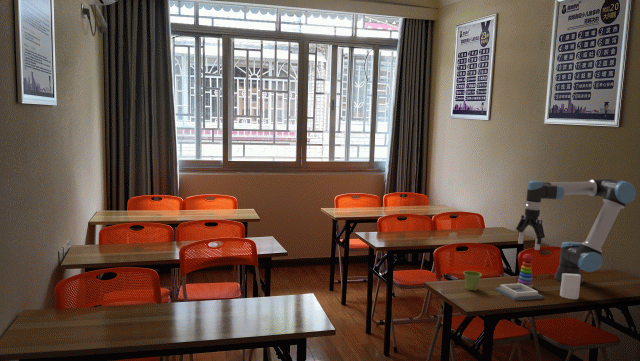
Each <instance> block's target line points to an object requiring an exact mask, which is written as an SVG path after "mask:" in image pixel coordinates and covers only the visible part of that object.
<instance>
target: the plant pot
mask: <svg viewBox="0 0 640 361" xmlns="http://www.w3.org/2000/svg"><path fill="white" fill-rule="evenodd" d="M463 274H464V275H463V276H464V284H465V289H466V290H468V291H474V292H475V291H478V287H479V284H480V279H481V277H482V276H483V275H482V273H481V272H478V271H475V270H466V271H463Z"/></svg>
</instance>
